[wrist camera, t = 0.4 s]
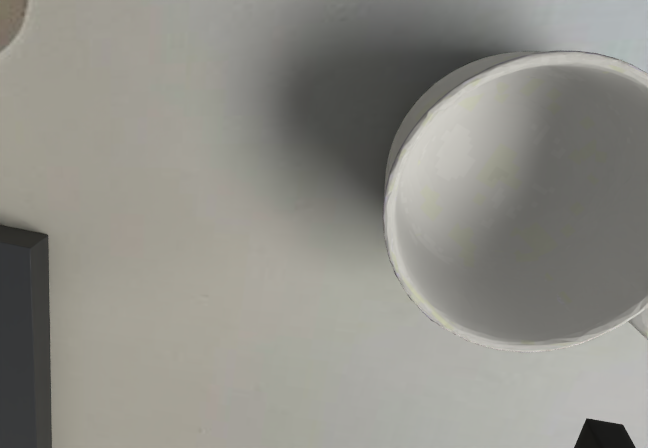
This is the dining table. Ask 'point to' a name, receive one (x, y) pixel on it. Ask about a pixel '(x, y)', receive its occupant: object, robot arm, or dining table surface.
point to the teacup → (524, 200)
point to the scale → (24, 340)
